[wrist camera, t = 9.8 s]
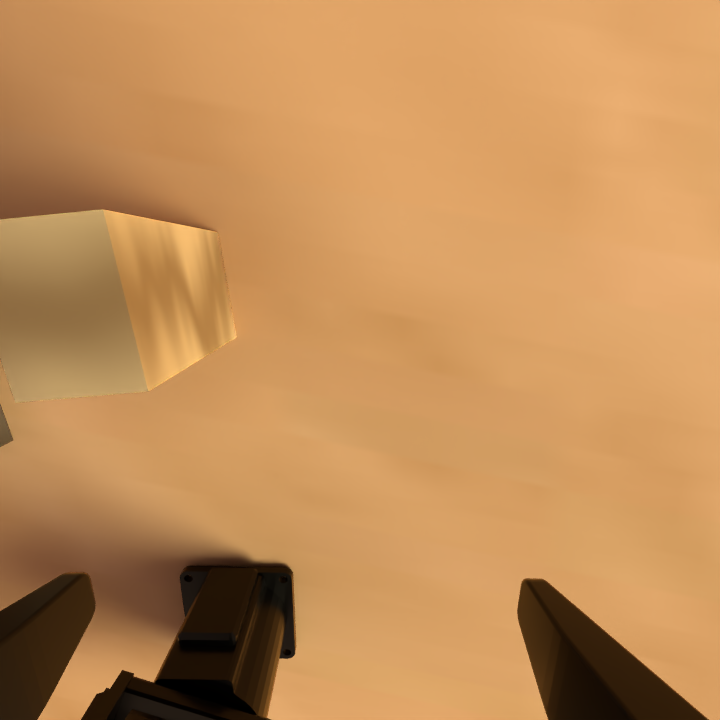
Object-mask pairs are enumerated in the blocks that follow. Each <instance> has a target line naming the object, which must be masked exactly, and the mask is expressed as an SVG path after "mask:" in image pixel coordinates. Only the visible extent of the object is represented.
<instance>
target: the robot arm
mask: <svg viewBox="0 0 720 720" xmlns="http://www.w3.org/2000/svg"><path fill="white" fill-rule="evenodd" d="M189 575H190V576H189ZM282 576H285V577H286V578H284V577H282ZM180 583H181V591H182V598H183V605H184V612H185V620H184V622H183V624H182V626H181V628H180V630H179V632H178V634H177V636H176V638H175V640H174V642H173V644H172V646H171V648H170V650H169V652H168V654H167V656H166V658H165V660H164V662H163V664H162V666H161V668H160V670H159V672H158V674H157V676H156V678H155V680H154V683H153V682H150V681H147V680H144V679H140V678H137V677H134V673H130V672H127V671H124V670H122V671H121V673H120V674H119V676H118V678H117V679H116V681H115V682H114V684H113V685H112V687H111V688H110V689H109V688H106V689H105V691H104V692H102V693H99V694H96V696H95V698H94V699H93V701H92V703H91V704H90V706H89V707H88V709H87V711H86V712H85V714H84V716H83V717H82V719H81V720H271V719H268V718H267V715H268V711H269V706H270V701H271V696H272V691H273V686H274V682H275V677H276V672H277V667H278V662H279V658H285V659H288V658H292V657H293V656H294V655H295V650H296V630H295V606H294V583H293V572H292V571H291V569H289V568H286V567H231V566H187V567H186V568H184V570H183V572H182V573H181V575H180ZM94 611H95V598H94V593H93V589H92V584H91V579H90V576H89V575H88V574H87V573H84V572H68V573H64V574H62V575H60V576H59V577H57V578H55V579H54V580H52V581H50V582H49V583H47V584H45V585H44V586H42V587H40V588H39V589H37V590H35V591H33V592H32V593H30V594H28V595H27V596H25V597H23V598H22V599H20V600H18V601H17V602H15V603H13V604H12V605H10V606H8V607H7V608H5V609H3V610H1V611H0V720H37V719H38V718H39V716H40V714H41V713H42V711H43V709H44V708H45V706H46V704H47V702H48V700H49V699H50V697H51V695H52V693H53V691H54V690H55V688H56V686H57V684H58V682H59V680H60V678H61V676H62V674H63V672H64V671H65V669H66V667H67V665H68V663H69V661H70V659H71V657H72V655H73V653H74V651H75V650H76V648H77V646H78V644H79V642H80V640H81V638H82V636H83V634H84V632H85V630H86V629H87V627H88V625H89V623H90V621H91V619H92V617H93V614H94ZM517 614H518V621H519V625H520V628H521V631H522V635H523V638H524V642H525V645H526V648H527V652H528V655H529V658H530V662H531V665H532V669H533V672H534V675H535V679H536V682H537V685H538V689H539V692H540V695H541V699H542V702H543V705H544V708H545V711H546V714H547V717H548V720H709V719H707V718H706V717H705V716H704V715H703V714H702V713H700V712H699V711H698V710H697V709H696V708H695V707H693V706H692V705H691V704H690V703H689V702H687V701H686V700H685V699H684V698H683V697H682V696H680V695H679V694H678V693H677V692H676V691H675V690H673V689H672V688H671V687H670V686H669V685H668V684H666V683H665V682H664V681H663V680H662V679H661V678H659V677H658V676H657V675H656V674H655V673H654V672H652V671H651V670H650V669H649V668H648V667H646V666H645V665H644V664H643V663H642V662H641V661H639V660H638V659H637V658H636V657H635V656H634V655H632V654H631V653H630V652H629V651H628V650H627V649H625V648H624V647H623V646H622V645H621V644H620V643H618V642H617V641H616V640H615V639H614V638H612V637H611V636H610V635H609V634H608V633H607V632H605V631H604V630H603V629H602V628H601V627H600V626H598V625H597V624H596V623H595V622H594V621H593V620H591V619H590V618H589V617H588V616H587V615H586V614H584V613H583V612H582V611H581V610H580V609H579V608H577V607H576V606H575V605H574V604H573V603H571V602H570V601H569V600H568V599H567V598H566V597H564V596H563V595H562V594H561V593H560V592H559V591H557V590H556V589H555V588H554V587H553V586H552V585H550V584H549V583H548V582H547V581H545V580H543V579H530V578H526V579H524V580H523V581H522V583H521V589H520V595H519V602H518V609H517Z"/></svg>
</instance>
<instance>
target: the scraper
mask: <svg viewBox="0 0 720 720" xmlns="http://www.w3.org/2000/svg"><path fill="white" fill-rule="evenodd" d="M236 337H237V336H236V331H235V325H234V319H233V314H232V308H231V302H230V297H229V291H228V286H227V280H226V274H225V269H224V263H223V258H222V252H221V246H220V241H219V235H218V232H215V231H210V230H205V229H200V228H195V227H190V226H185V225H180V224H175V223H170V222H165V221H160V220H155V219H150V218H145V217H140V216H135V215H130V214H124V213H119V212H114V211H109V210H104V209H100V210H90V211H80V212H70V213H60V214H50V215H40V216H30V217H19V218H9V219H0V360H1V363H2V366H3V369H4V372H5V375H6V377H7V380H8V383H9V386H10V389H11V392H12V395H13V397H14V400H15V403H21V402H33V401H44V400H56V399H68V398H80V397H91V396H103V395H115V394H126V393H138V392H149V391H150V390H152V389H153V388H155V387H157V386H158V385H160V384H162V383H163V382H165V381H166V380H168V379H170V378H171V377H173V376H175V375H176V374H178V373H179V372H181V371H183V370H184V369H186V368H188V367H189V366H191V365H193V364H194V363H196V362H197V361H199V360H201V359H202V358H204V357H206V356H207V355H209V354H210V353H212V352H214V351H215V350H217V349H219V348H220V347H222V346H223V345H225V344H227V343H228V342H230V341H232V340H233V339H235V338H236ZM11 441H13V438H12V436H11V433H10V430H9V427H8V425H7V422H6V419H5V416H4V413H3V411H2V408H1V405H0V447H1V446H3V445H5V444H7V443H9V442H11Z"/></svg>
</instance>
